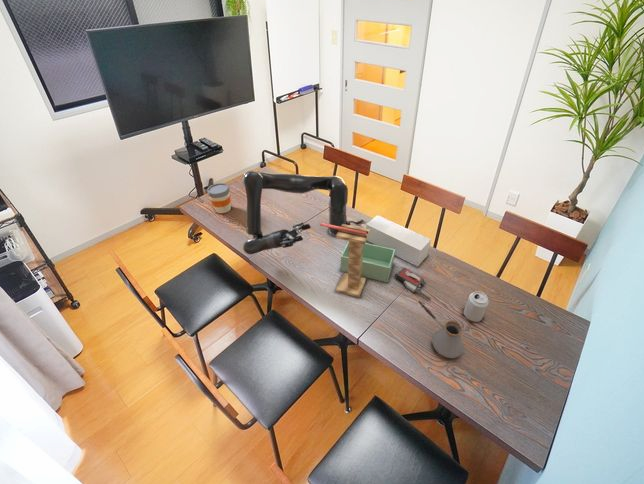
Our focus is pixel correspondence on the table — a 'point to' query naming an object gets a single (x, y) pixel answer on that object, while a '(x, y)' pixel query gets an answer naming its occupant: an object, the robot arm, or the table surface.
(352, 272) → the stand
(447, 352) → the coffee pot
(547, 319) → the table surface
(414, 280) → the walkie-talkie
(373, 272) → the bin
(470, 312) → the can
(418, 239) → the stack of papers
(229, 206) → the reusable coffee cup
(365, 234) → the straw
